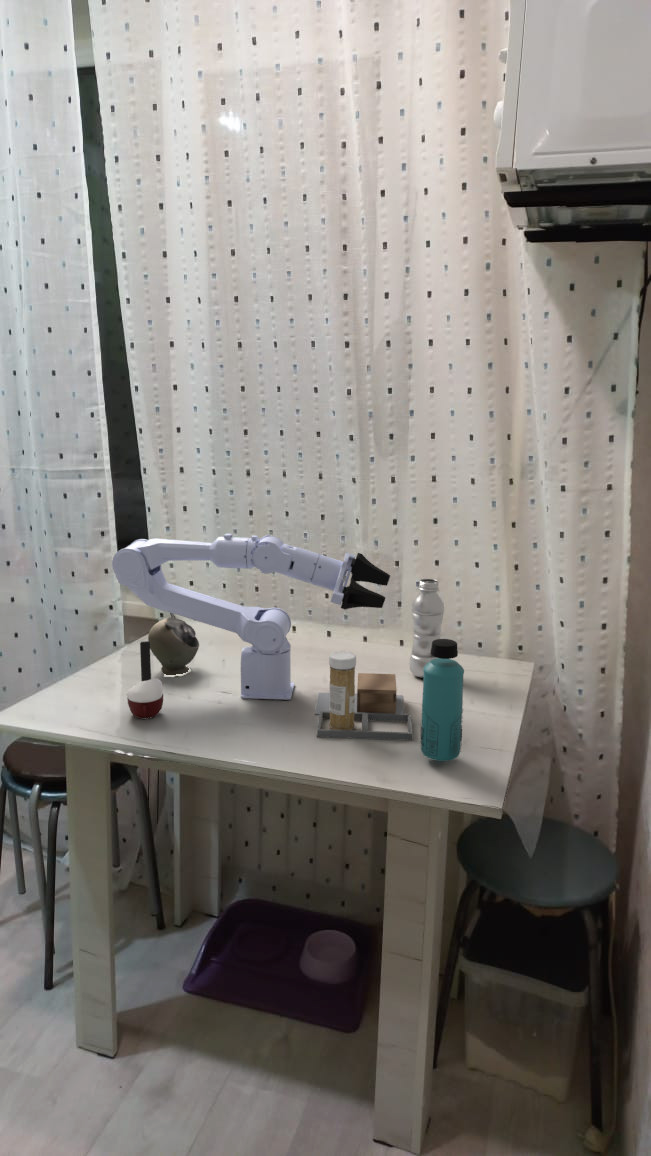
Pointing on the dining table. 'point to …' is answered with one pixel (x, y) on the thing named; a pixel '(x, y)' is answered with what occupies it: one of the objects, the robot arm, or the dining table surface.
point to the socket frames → (365, 733)
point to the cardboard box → (376, 693)
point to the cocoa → (145, 689)
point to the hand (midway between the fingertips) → (386, 591)
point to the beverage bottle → (442, 703)
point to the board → (324, 704)
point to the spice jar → (342, 690)
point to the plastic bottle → (425, 624)
